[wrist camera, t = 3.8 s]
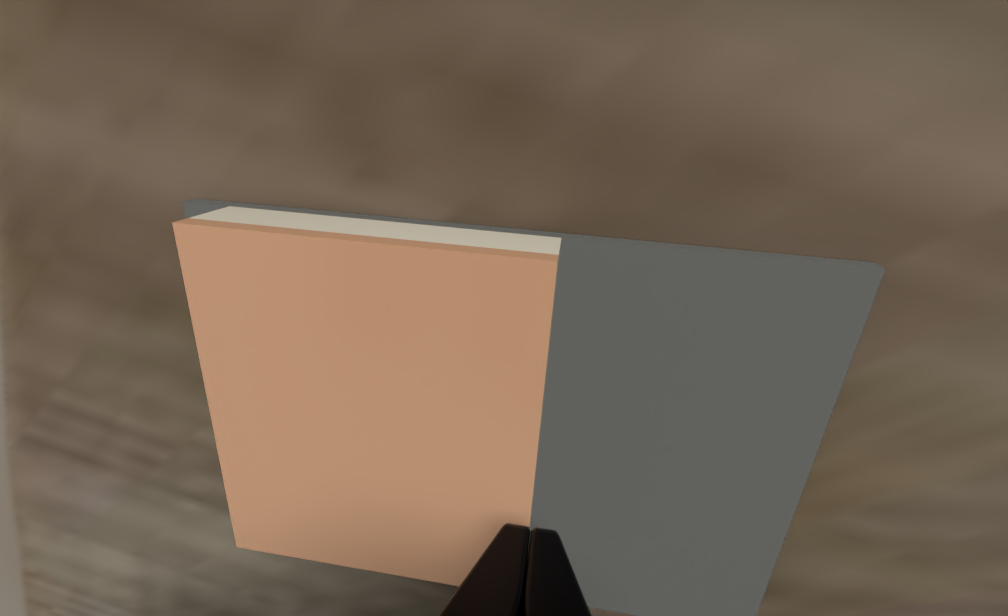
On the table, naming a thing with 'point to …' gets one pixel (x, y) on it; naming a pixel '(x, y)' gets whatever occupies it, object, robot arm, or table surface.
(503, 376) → the tile
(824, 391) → the mat
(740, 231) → the table surface
